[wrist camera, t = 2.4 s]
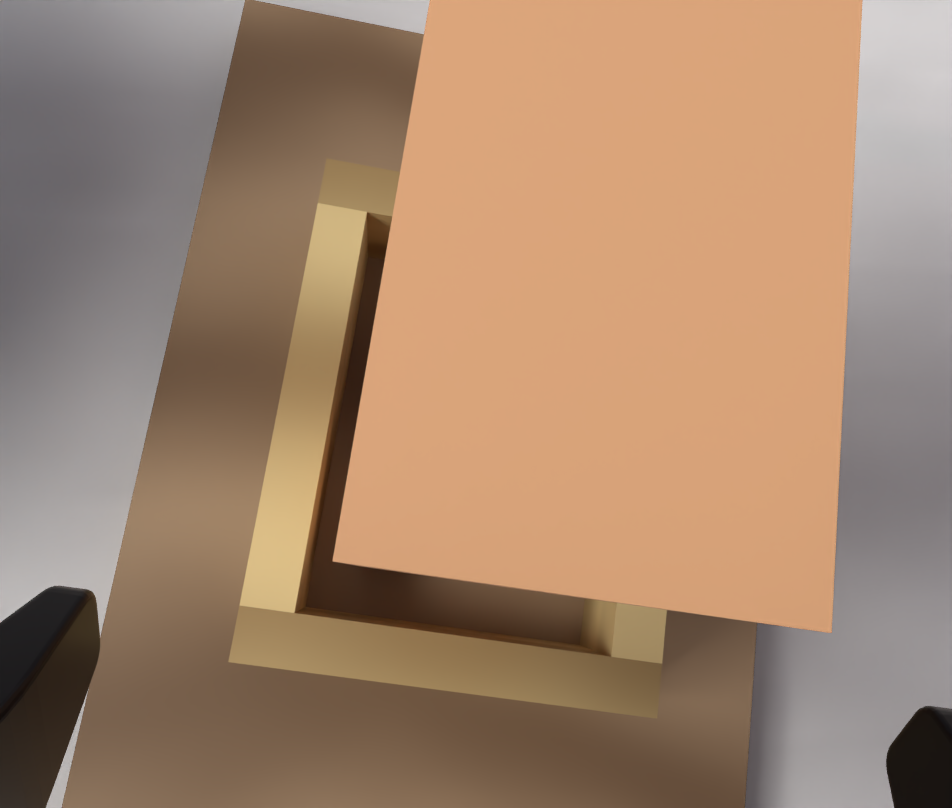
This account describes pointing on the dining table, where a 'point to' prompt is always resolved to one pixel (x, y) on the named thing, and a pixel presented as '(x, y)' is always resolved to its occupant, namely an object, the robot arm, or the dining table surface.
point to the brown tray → (317, 519)
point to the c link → (617, 307)
